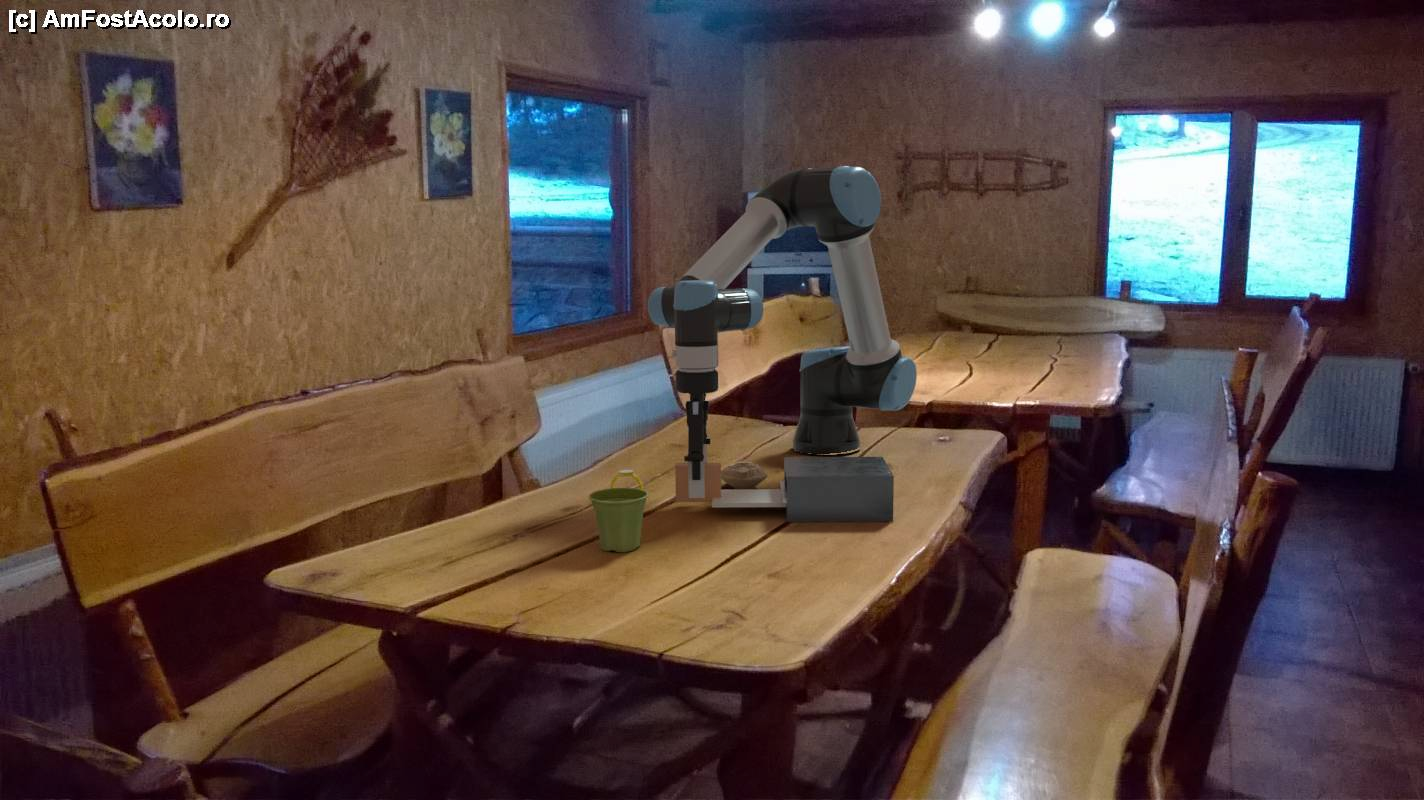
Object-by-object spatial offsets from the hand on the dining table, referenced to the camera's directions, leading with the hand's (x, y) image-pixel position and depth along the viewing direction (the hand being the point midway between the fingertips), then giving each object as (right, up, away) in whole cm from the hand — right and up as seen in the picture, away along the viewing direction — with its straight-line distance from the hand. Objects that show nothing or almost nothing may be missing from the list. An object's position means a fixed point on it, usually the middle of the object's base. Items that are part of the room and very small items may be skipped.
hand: (698, 488), depth 200 cm
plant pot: (-12, -8, -22) cm, 26 cm away
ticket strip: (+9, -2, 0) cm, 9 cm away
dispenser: (+25, -4, 0) cm, 25 cm away
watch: (-13, -3, +8) cm, 16 cm away
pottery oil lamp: (+9, -1, +19) cm, 21 cm away
